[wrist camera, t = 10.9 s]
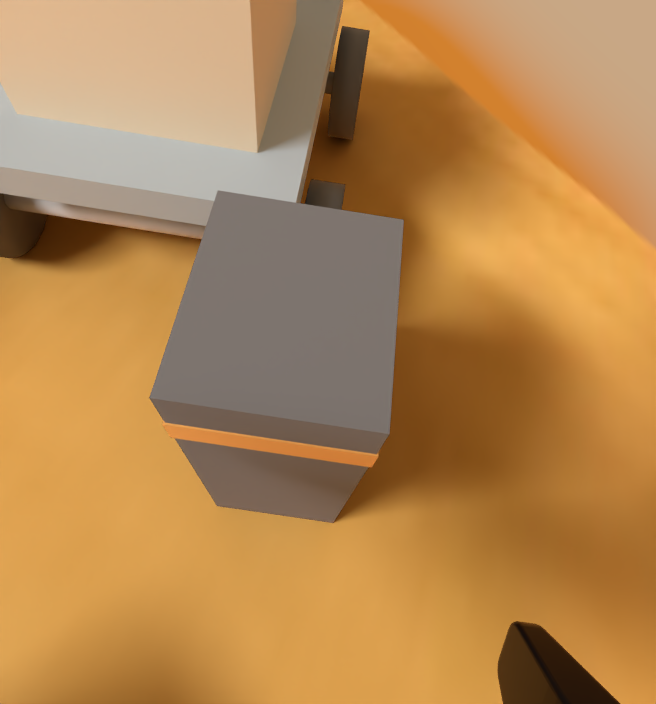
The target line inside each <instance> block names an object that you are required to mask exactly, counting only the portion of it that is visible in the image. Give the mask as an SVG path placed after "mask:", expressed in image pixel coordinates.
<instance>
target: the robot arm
mask: <svg viewBox="0 0 656 704" xmlns="http://www.w3.org/2000/svg"><path fill="white" fill-rule="evenodd" d="M498 679H499V684H500V690H501V695H502V701H503V704H620V703H619V702H618V701H617V700H616V699H615V698H614V697H613V696H612V695H611V694H610V693H609V692H608V691H607V690H606V689H605V688H604V687H603V686H602V685H601V684H600V683H599V682H598V681H597V680H596V679H595V678H594V677H593V676H591V675H590V674H589V673H588V672H587V671H586V670H585V669H584V668H583V667H582V666H581V665H580V664H579V663H578V662H577V661H576V660H575V659H574V658H573V657H572V656H571V655H570V654H569V653H568V652H567V651H566V650H565V649H564V648H563V647H562V646H561V645H560V644H559V643H558V642H557V641H556V640H555V639H554V638H553V637H552V636H551V635H550V634H549V633H548V632H547V631H546V630H545V629H543V628H542V627H541V626H539V625H537V624H532V623H525V622H518V621H516V622H513V623H512V624H511V625H510V627H509V630H508V633H507V636H506V639H505V642H504V645H503V648H502V651H501V654H500V657H499V661H498Z"/></svg>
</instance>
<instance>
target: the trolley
mask: <svg viewBox="0 0 656 704" xmlns="http://www.w3.org/2000/svg"><path fill="white" fill-rule="evenodd" d="M342 7H343V0H0V257H5V258H16V257H20V256H22V255H24V254H25V253H27V252H28V251H29V250H30V249H31V248H33V246H34V245H35V244H36V242H37V241H38V239H39V238H40V235H41V233H42V231H43V228H44V225H45V222H46V217H47V215H53V216H59V217H65V218H72V219H78V220H84V221H91V222H97V223H103V224H109V225H116V226H122V227H128V228H134V229H141V230H147V231H153V232H159V233H166V234H172V235H178V236H184V237H191V238H197V239H202V237H203V234H204V231H205V228H206V225H207V222H208V219H209V215H210V212H211V209H212V206H213V203H214V200H215V197H216V194H217V191H218V190H219V191H226V192H232V193H238V194H245V195H251V196H257V197H263V198H270V199H276V200H282V201H289V202H295V203H301V198H302V194H303V189H304V184H305V180H306V175H307V170H308V166H309V161H310V157H311V152H312V147H313V143H314V138H315V133H316V129H317V124H318V119H319V115H320V110H321V105H322V101H323V96H324V93H327V94H331V103H330V112H329V122H328V136H331V137H337V138H343V139H349V140H353V134H354V128H355V122H356V115H357V109H358V102H359V96H360V90H361V83H362V77H363V70H364V64H365V58H366V51H367V45H368V38H369V32H370V31H369V30H363V29H357V28H351V27H345V26H342V29H341V34H340V39H339V45H338V51H337V57H336V64H335V71H334V72H329V68H330V64H331V59H332V54H333V50H334V45H335V40H336V36H337V31H338V26H339V22H340V17H341V13H342ZM344 191H345V184H339V183H332V182H326V181H320V180H314V179H311V181H310V184H309V188H308V192H307V197H306V202H305V204H308V205H314V206H320V207H326V208H333V209H339V210H342V204H343V197H344Z"/></svg>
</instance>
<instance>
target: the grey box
mask: <svg viewBox="0 0 656 704" xmlns="http://www.w3.org/2000/svg"><path fill="white" fill-rule="evenodd" d="M403 225H404V220H402V219H396V218H389V217H383V216H377V215H370V214H364V213H358V212H352V211H345V210H339V209H333V208H326V207H320V206H314V205H308V204H301V203H295V202H289V201H282V200H276V199H270V198H263V197H257V196H251V195H245V194H238V193H232V192H226V191H219V190H218V191H217V194H216V197H215V200H214V203H213V206H212V209H211V212H210V215H209V219H208V222H207V225H206V228H205V231H204V234H203V237H202V240H201V243H200V246H199V249H198V252H197V255H196V258H195V261H194V264H193V267H192V270H191V273H190V276H189V279H188V282H187V285H186V288H185V291H184V294H183V298H182V301H181V304H180V307H179V310H178V313H177V316H176V319H175V322H174V325H173V328H172V331H171V334H170V337H169V340H168V343H167V346H166V349H165V352H164V355H163V358H162V361H161V364H160V367H159V370H158V374H157V377H156V380H155V383H154V386H153V389H152V392H151V395H150V400H151V401H152V403H153V404H154V406H155V408H156V409H157V411H158V412H159V414H160V416H161V417H162V419H163V423H162V425H163V426H164V428H165V429H166V431H167V433H168V434H169V436H170V437H171V438H175V440H176V441H177V443H178V444H179V446H180V447H181V449H182V451H183V452H184V454H185V455H186V457H187V459H188V460H189V462H190V463H191V465H192V467H193V468H194V470H195V471H196V473H197V475H198V476H199V478H200V479H201V481H202V483H203V484H204V486H205V487H206V489H207V491H208V492H209V494H210V495H211V497H212V499H213V500H214V502H215V503H216V505H217V506H222V507H228V508H235V509H242V510H249V511H256V512H262V513H269V514H276V515H283V516H290V517H297V518H303V519H310V520H317V521H324V522H331V523H333V522H334V521H335V519H336V518H337V516H338V514H339V513H340V511H341V510H342V508H343V507H344V505H345V503H346V502H347V500H348V499H349V497H350V496H351V494H352V492H353V491H354V489H355V488H356V486H357V484H358V483H359V481H360V480H361V478H362V477H363V475H364V473H365V472H366V470H367V469H368V467H371V468H372V466H373V464H374V463H375V461H376V460H377V458H378V457H379V450H380V448H381V447H382V445H383V444H384V442H385V440H386V439H387V437H388V436H389V434H390V420H391V405H392V390H393V375H394V360H395V345H396V330H397V315H398V300H399V285H400V270H401V255H402V240H403Z"/></svg>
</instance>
